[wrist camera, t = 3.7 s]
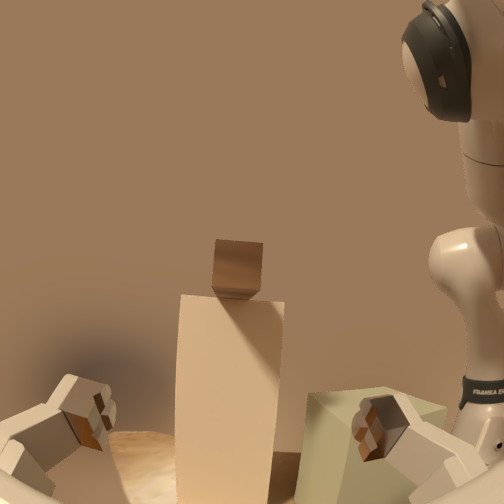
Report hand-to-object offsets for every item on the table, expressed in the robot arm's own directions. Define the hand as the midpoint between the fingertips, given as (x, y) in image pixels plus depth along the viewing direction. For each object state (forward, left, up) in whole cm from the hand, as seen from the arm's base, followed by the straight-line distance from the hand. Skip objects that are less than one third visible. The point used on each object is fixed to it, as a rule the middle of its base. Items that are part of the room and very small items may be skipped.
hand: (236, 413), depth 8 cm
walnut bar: (+16, -15, +5) cm, 22 cm away
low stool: (+1, -21, -21) cm, 30 cm away
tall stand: (+18, -18, -21) cm, 33 cm away
